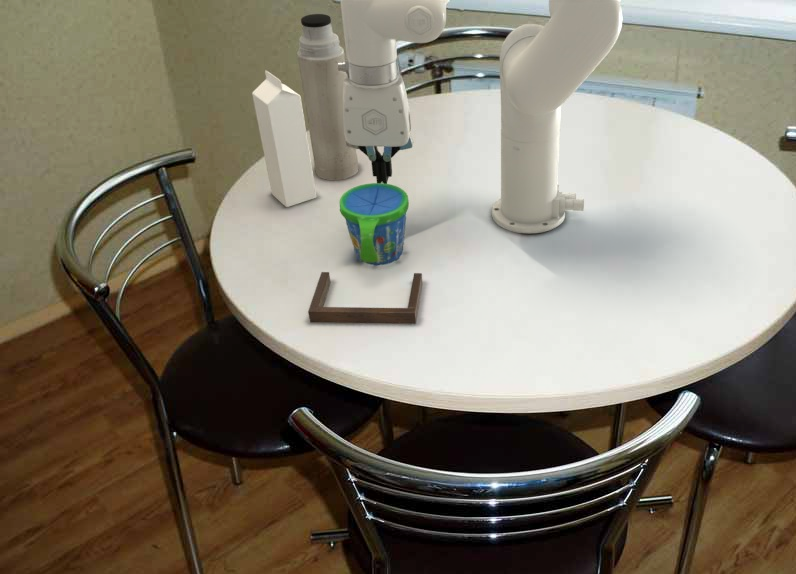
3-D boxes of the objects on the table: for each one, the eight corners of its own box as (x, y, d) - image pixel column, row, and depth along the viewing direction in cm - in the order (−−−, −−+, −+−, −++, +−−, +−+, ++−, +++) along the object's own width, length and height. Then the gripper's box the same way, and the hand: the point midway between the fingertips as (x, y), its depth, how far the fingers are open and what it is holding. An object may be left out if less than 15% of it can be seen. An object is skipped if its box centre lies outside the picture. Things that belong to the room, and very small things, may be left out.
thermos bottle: (335, 157, 162) (314, 6, 144) (367, 167, 158) (349, 14, 140) (306, 173, 156) (281, 19, 138) (339, 184, 153) (317, 28, 135)
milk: (286, 208, 147) (262, 85, 132) (271, 194, 150) (246, 73, 136) (317, 197, 149) (297, 76, 135) (302, 184, 153) (281, 65, 139)
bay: (422, 283, 129) (421, 273, 127) (415, 324, 121) (414, 312, 120) (323, 282, 129) (321, 271, 128) (309, 322, 121) (307, 311, 120)
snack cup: (399, 285, 128) (393, 227, 122) (333, 279, 130) (324, 221, 123) (423, 232, 140) (419, 177, 134) (362, 227, 141) (355, 172, 135)
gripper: (319, 78, 124) (334, 190, 136) (419, 80, 124) (425, 192, 135) (328, 60, 130) (342, 168, 141) (424, 62, 129) (430, 170, 141)
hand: (383, 179), depth 138 cm, fingers closed
